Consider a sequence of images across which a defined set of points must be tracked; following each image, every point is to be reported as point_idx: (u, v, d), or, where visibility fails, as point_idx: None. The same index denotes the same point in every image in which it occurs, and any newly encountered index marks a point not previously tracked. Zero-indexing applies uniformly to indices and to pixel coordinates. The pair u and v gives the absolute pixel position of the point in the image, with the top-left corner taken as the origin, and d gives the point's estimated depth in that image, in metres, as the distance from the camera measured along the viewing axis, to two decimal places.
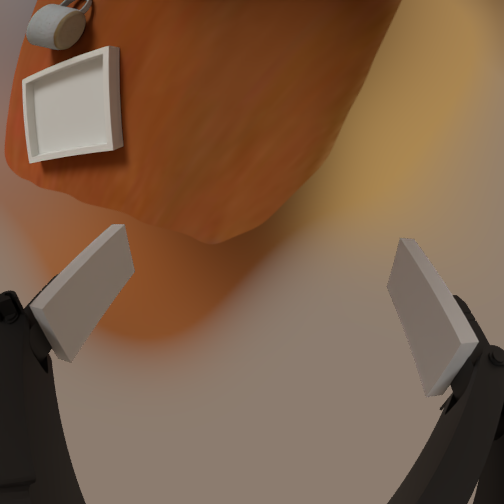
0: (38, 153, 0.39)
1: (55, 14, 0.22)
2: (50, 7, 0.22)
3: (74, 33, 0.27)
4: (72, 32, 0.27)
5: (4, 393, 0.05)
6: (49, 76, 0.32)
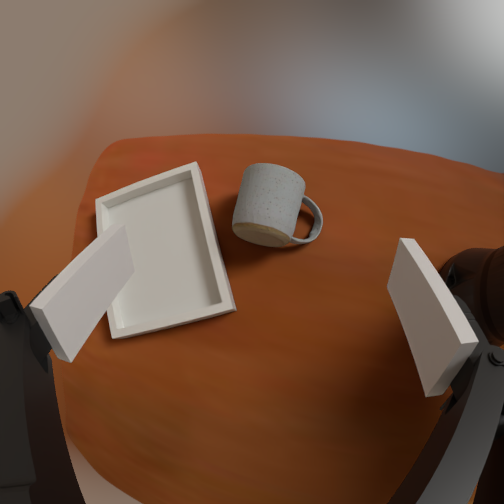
0: (108, 207, 0.39)
1: (283, 210, 0.31)
2: (297, 191, 0.32)
3: (257, 240, 0.35)
4: (257, 238, 0.34)
5: (4, 393, 0.05)
6: (199, 205, 0.38)
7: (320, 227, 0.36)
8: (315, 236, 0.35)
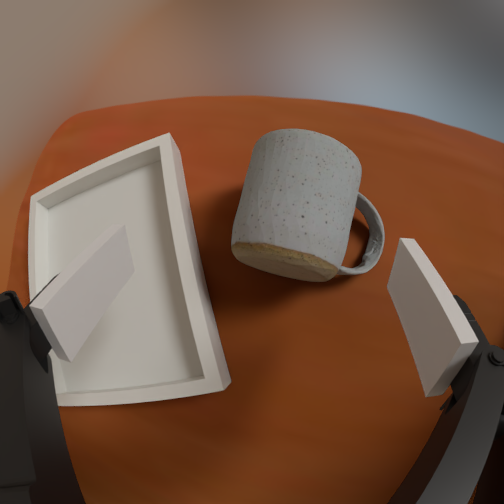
0: (48, 207, 0.24)
1: (332, 219, 0.15)
2: (353, 183, 0.17)
3: (276, 269, 0.19)
4: (278, 268, 0.18)
5: (4, 393, 0.05)
6: None
7: (381, 246, 0.20)
8: (374, 262, 0.20)
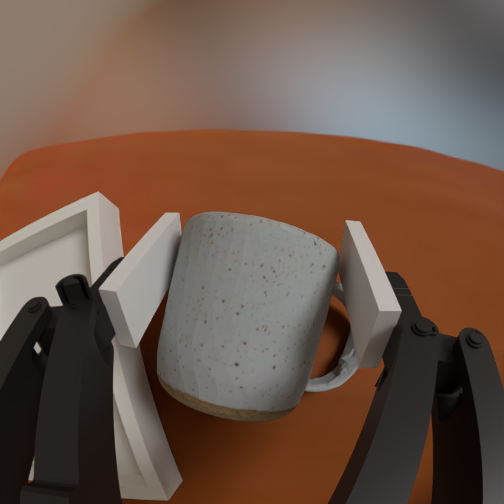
0: None
1: (284, 360, 0.10)
2: (322, 292, 0.11)
3: None
4: None
5: (57, 384, 0.05)
6: None
7: None
8: (352, 370, 0.14)
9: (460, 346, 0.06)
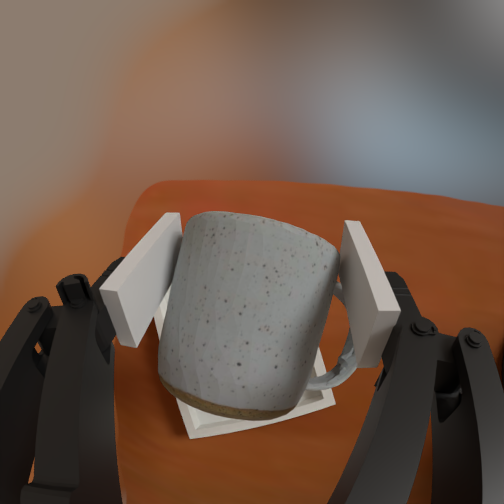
0: None
1: (286, 359, 0.10)
2: (324, 292, 0.12)
3: None
4: None
5: (57, 384, 0.05)
6: None
7: None
8: (352, 370, 0.15)
9: (459, 346, 0.06)
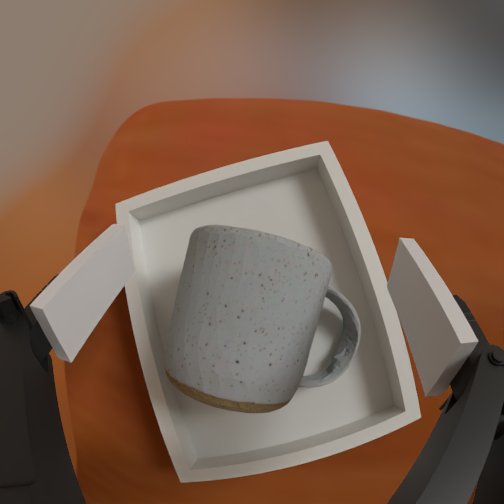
0: (141, 220, 0.21)
1: (279, 358, 0.12)
2: (314, 297, 0.13)
3: None
4: None
5: (4, 393, 0.05)
6: (337, 225, 0.20)
7: (355, 348, 0.16)
8: (344, 368, 0.16)
9: None
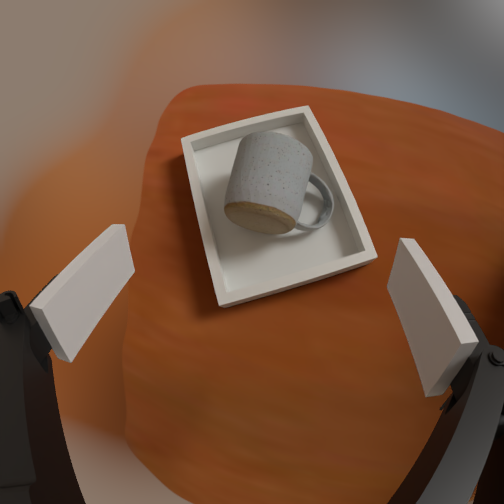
0: (195, 150, 0.34)
1: (288, 186, 0.24)
2: (303, 165, 0.26)
3: (254, 225, 0.28)
4: (255, 223, 0.27)
5: (4, 393, 0.05)
6: (314, 151, 0.33)
7: (331, 211, 0.29)
8: (325, 221, 0.29)
9: None
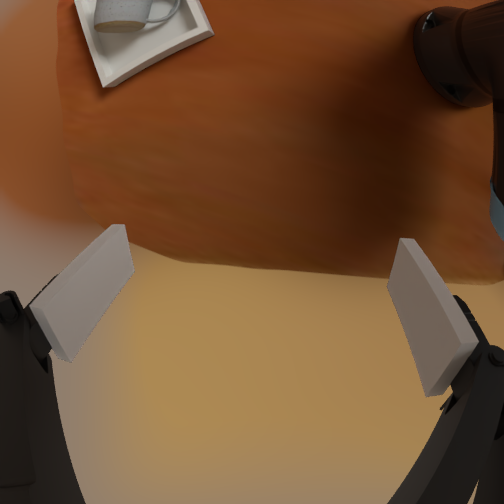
0: None
1: (125, 4, 0.21)
2: None
3: (119, 30, 0.26)
4: (118, 29, 0.25)
5: (4, 393, 0.05)
6: None
7: (177, 4, 0.25)
8: (172, 13, 0.26)
9: None
